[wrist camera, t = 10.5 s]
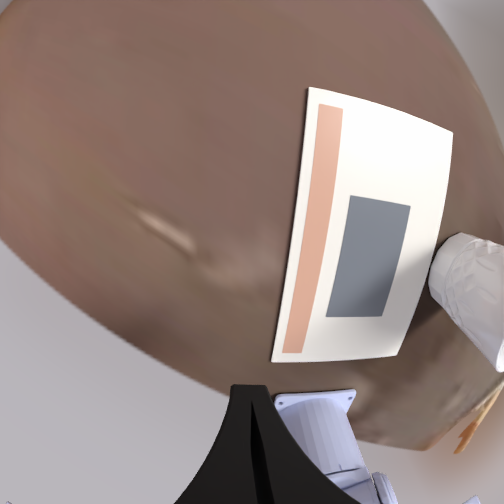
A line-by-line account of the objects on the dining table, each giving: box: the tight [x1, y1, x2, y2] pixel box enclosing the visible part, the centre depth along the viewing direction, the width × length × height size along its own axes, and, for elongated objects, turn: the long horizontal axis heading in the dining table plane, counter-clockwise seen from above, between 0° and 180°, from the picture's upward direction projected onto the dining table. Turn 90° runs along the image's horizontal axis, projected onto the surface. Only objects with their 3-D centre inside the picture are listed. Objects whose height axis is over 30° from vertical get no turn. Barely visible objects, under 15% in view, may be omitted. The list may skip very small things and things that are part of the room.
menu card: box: [271, 87, 453, 362], centre depth 18 cm, size 20×12×1 cm, turn 174°
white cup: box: [428, 232, 504, 372], centre depth 15 cm, size 8×8×10 cm
